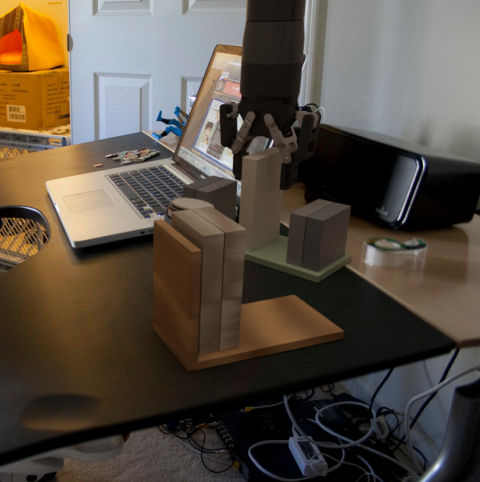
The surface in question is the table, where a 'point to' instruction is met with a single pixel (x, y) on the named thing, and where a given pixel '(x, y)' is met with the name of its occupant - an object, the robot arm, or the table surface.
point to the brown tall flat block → (261, 197)
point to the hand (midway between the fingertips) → (262, 183)
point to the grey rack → (300, 232)
